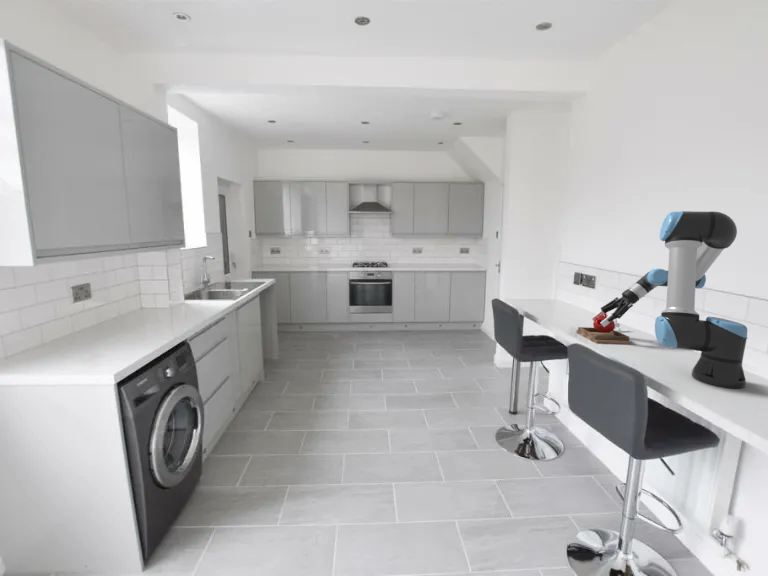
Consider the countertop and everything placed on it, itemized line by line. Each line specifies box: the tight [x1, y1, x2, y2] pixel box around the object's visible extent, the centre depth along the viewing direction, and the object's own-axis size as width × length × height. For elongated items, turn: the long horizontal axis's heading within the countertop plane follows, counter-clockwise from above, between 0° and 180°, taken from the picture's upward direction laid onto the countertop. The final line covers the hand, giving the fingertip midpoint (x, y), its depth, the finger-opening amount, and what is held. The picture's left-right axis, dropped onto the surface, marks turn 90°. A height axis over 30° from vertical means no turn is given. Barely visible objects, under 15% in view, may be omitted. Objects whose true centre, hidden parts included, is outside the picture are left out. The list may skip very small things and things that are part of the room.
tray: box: [575, 326, 632, 345], centre depth 197 cm, size 20×17×4 cm
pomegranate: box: [592, 312, 615, 332], centre depth 196 cm, size 10×10×9 cm
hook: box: [610, 313, 622, 333], centre depth 216 cm, size 8×12×7 cm
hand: (597, 322), depth 196 cm, fingers closed on pomegranate, 10 cm apart
